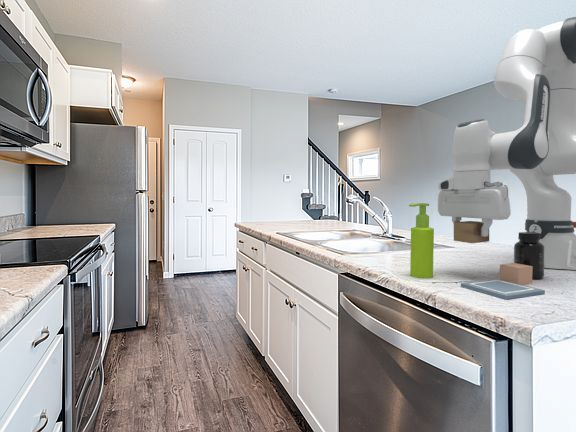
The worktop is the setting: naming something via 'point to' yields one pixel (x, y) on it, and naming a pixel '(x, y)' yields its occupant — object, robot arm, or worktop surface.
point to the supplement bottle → (530, 253)
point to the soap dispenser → (422, 245)
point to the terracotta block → (516, 273)
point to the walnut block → (469, 232)
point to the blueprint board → (502, 289)
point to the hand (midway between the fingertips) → (471, 234)
